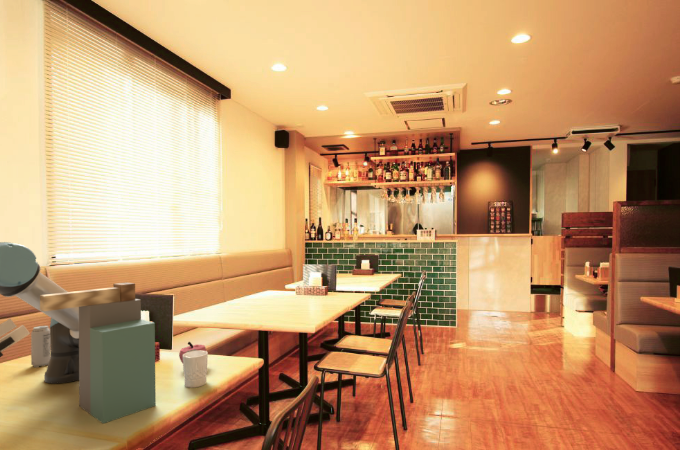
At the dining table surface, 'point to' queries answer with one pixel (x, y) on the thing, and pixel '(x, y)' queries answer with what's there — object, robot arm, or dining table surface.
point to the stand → (116, 360)
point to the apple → (190, 349)
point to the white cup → (195, 368)
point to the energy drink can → (40, 346)
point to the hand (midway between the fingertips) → (20, 325)
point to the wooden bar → (88, 297)
